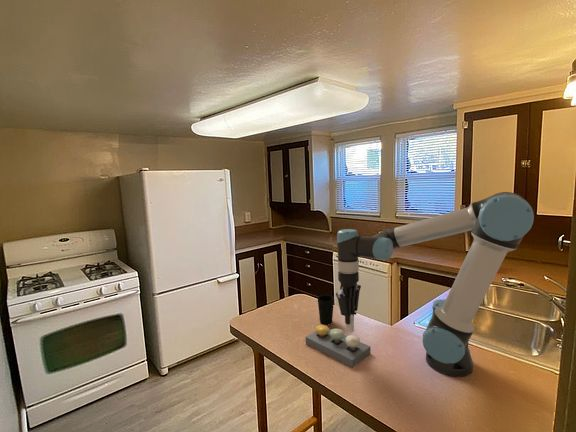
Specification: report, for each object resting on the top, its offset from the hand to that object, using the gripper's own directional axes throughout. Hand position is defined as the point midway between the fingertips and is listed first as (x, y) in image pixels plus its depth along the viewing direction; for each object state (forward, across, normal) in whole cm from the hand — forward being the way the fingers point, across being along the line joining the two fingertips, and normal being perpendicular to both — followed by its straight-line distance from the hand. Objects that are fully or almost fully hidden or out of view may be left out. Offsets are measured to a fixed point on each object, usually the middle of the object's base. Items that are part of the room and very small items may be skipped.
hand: (349, 330), depth 117 cm
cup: (+9, -14, -23) cm, 29 cm away
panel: (+10, 0, -6) cm, 11 cm away
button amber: (+8, 0, -14) cm, 16 cm away
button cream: (+7, 0, +1) cm, 7 cm away
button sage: (+7, 0, -6) cm, 9 cm away
